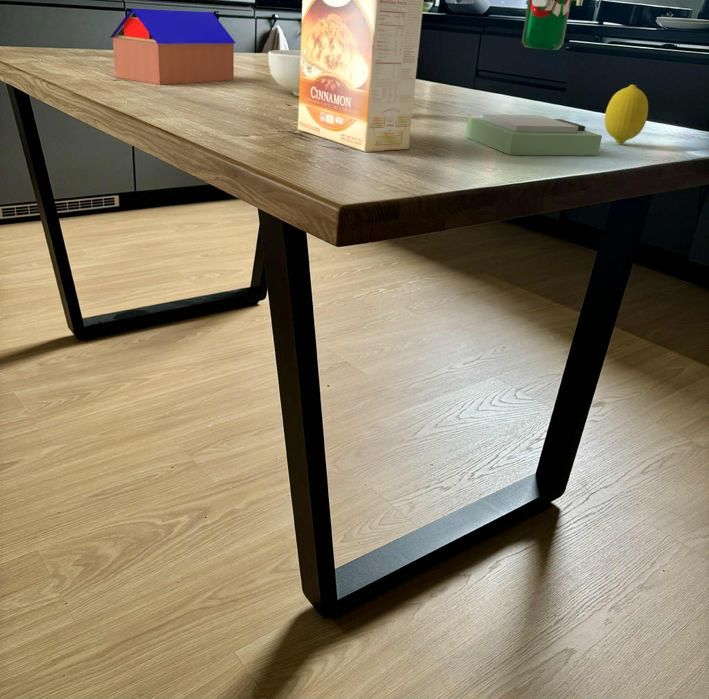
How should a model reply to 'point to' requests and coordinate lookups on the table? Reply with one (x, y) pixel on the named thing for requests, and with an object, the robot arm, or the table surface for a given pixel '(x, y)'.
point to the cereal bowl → (286, 68)
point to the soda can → (546, 25)
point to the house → (172, 47)
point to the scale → (532, 135)
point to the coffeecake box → (359, 71)
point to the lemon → (626, 114)
